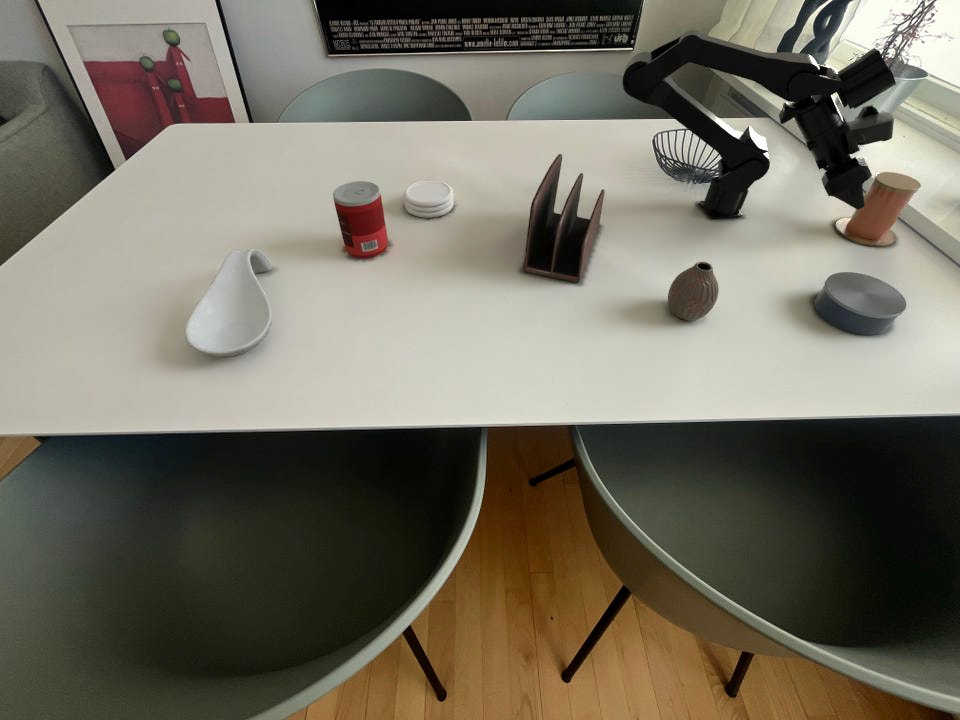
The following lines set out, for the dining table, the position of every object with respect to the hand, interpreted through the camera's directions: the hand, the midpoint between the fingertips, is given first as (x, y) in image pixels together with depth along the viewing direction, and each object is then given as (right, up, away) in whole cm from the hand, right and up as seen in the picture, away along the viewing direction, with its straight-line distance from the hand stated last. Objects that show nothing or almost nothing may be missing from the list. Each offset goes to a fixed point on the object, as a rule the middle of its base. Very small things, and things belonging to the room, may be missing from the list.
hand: (855, 196), depth 89 cm
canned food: (-90, -10, 0) cm, 91 cm away
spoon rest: (-107, -23, -13) cm, 110 cm away
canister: (+5, -5, +3) cm, 8 cm away
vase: (-37, -23, -13) cm, 45 cm away
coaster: (-80, +1, +10) cm, 81 cm away
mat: (+5, -6, +4) cm, 8 cm away
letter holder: (-54, -10, 0) cm, 55 cm away
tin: (-11, -23, -13) cm, 28 cm away
